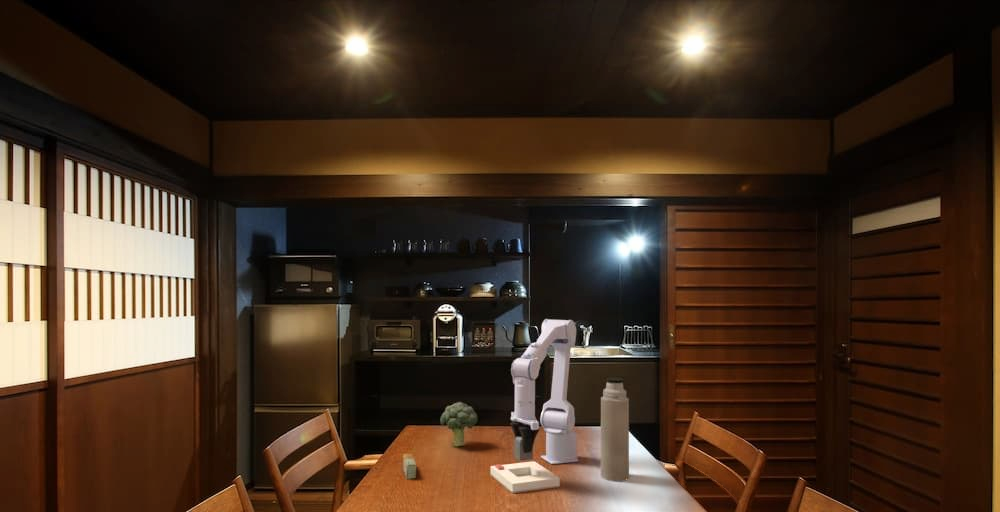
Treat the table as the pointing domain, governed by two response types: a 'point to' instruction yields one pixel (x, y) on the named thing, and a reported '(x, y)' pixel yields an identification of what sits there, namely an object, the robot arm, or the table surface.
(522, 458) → the plug
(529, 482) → the faceplate
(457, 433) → the vegetable
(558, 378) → the robot arm
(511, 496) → the table surface
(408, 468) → the medication box
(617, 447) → the thermos bottle
